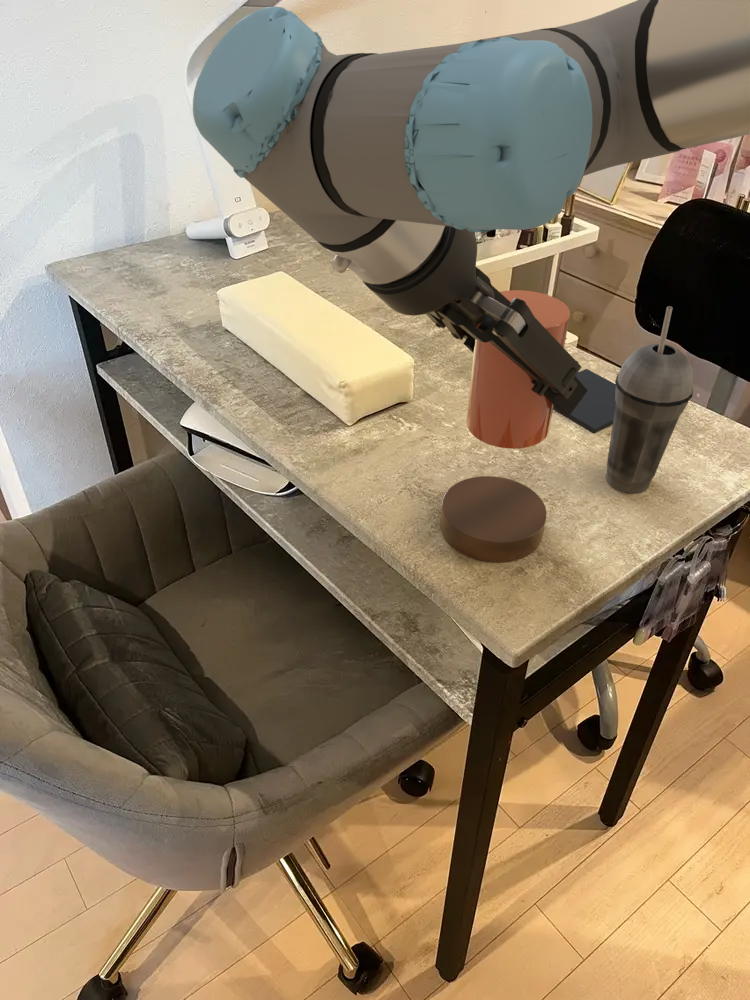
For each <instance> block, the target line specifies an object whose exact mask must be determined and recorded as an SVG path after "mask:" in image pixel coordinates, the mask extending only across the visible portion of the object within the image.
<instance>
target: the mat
mask: <svg viewBox="0 0 750 1000" xmlns="http://www.w3.org/2000/svg"><path fill="white" fill-rule="evenodd" d="M576 377H577V379H578V380H579V381H580V382H581V383H582V384H583V386H584V387H585V388H586V389H587V390H588V391H587V392H586V394H585V395H584V397H583V398H582V399H581V401H580V402H579V403H578V405H577V406H576V408H575V409H574V410H573V412H572V413H571V414H570V416H569V417H567V416H566V415H564V414H562V413H561V412H560V411H559V410H558V409H557V408H556V407H555V406H553V410H554V411H556V412H557V413H559V414H561V415H563V416H565V417H566V418H568V419H569V420H571V421H572V422H575V423H576V424H577V425H580V426H581V427H583V428H585V429H586V430H588V431H589V432H591V433H593V434H595V433H597V432H600V431H601V430H603V429H605V428H607V427H609V426H613V419H614V413H615V406H616V401H615V389H616V383H615V382H613V381H611V380H609V379H607V378H605V377H603V376H601V375H599V374H598V373H595V372H593V371H592V370H589V369H588V368H585V369H582V370H579V372H578V373H577V374H576Z"/></svg>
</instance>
